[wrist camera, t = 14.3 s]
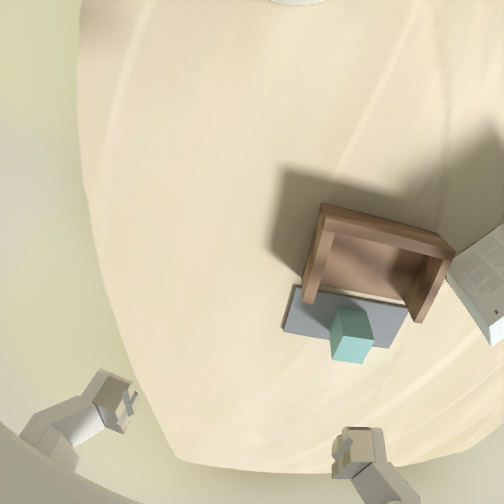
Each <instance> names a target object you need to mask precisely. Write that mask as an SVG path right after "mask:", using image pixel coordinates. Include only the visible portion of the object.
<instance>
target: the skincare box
mask: <svg viewBox="0 0 504 504" xmlns="http://www.w3.org/2000/svg"><path fill="white" fill-rule="evenodd" d="M446 277H447V280H448V283H449V285H450V287H451V288H452V289H453V291H454V292H455V293H456V295H457V296H458V298H459V299H460V300H461V302H462V303H463V305H464V306H465V307H466V309H467V310H468V312H469V313H470V315H471V316H472V318H473V319H474V321H475V322H476V324H477V325H478V327H479V328H480V330H481V331H482V333H483V335H484V336H485V338H486V339H487V341H488V343H489V344H490V346H491V347H492V346H493V345H495V344H496V343H497V342H499V341H500V340H501V339H503V338H504V222H503V223H502V224H501V225H499V226H498V227H497V228H495V229H494V230H493V231H491V232H490V233H489V234H487V235H486V236H485V237H483V238H482V239H480V240H479V241H478V242H476V243H475V244H473V245H472V246H471V247H469V248H468V249H466V250H465V251H463V252H462V253H460V254H459V255H458V256H456V257H455V258H453V260H452V262H451V265H450V267H449V269H448V272H447V274H446Z"/></svg>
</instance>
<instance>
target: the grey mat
mask: <svg viewBox="0 0 504 504" xmlns="http://www.w3.org/2000/svg"><path fill="white" fill-rule="evenodd" d="M338 307H341V308H347V309H352V310H358V311H363V312H367V315H368V318H369V322H370V325H371V329H372V332H373V336H374V340H375V341H374V343H373V344H372V346H373V347H381V348H389V347H390V345H391V343H392V342H393V340H394V338H395V336H396V334H397V333H398V331H399V329H400V327H401V325H402V323H403V321H404V319H405V318H406V316H407V314H408V312H409V311H408V309H407V307H404V306H398V305H393V304H387V303H382V302H376V301H371V300H366V299H360V298H355V297H350V296H345V295H340V294H334V293H329V292H324V291H319V290H318V291H317V294H316V297H315V300H314V303H313V305H311V304H306V303H302V287H299V286H296V289H295V292H294V296H293V299H292V303H291V306H290V309H289V313H288V316H287V320H286V323H285V326H284V329H283V332H287V333H293V334H298V335H303V336H309V337H315V338H321V339H327V340H330V335H329V329H330V327H331V324H332V322H333V319H334V317H335V314H336V312H337V309H338Z"/></svg>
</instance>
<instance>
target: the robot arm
mask: <svg viewBox="0 0 504 504" xmlns="http://www.w3.org/2000/svg"><path fill="white" fill-rule="evenodd" d="M270 1H273V2H276V3H280V4H286V5H310V4H315V3H319V2H322V1H324V0H270ZM136 387H137V386H136V382H133V381H131V380H128V379H125V378H123V377H120V376H118V375H115V374H113V373H111V372H108V371H106V370H103V369H100V370H99V371H98V372H97V373H96V375H95V376H94V378H93V379H92V380H91V382H90V383H89V385H88V387H87V388H86V389H85V391H84V392H83V394H82V395H81V397H80V396H75V397H73V398H71V399H69V400H66V401H64V402H62V403H59V404H57V405H54V406H52V407H50V408H47V409H45V410H42V411H40V412H38V413H35V414H34V415H33V416H32V418H31V419H30V420H29V422H28V423H27V425H26V426H25V428H24V429H23V431H22V432H21V434H20V435H19V436H18V435H16V434H15V433H14V432H12V431H11V430H10V429H9V428H7V427H6V426H5V425H4V424H3V423H1V422H0V504H142V503H139V502H137V501H134V500H131V499H129V498H127V497H124V496H122V495H119V494H117V493H115V492H113V491H110V490H108V489H106V488H104V487H102V486H99V485H98V484H95V483H94V482H92V481H90V480H88V479H85V478H84V477H82V476H80V475H78V474H76V473H75V472H74V471H75V469H76V467H77V465H78V463H79V461H80V458H79V456H78V454H77V453H76V452H75V450H74V449H73V447H75V446H76V445H78V444H80V443H82V442H83V441H85V440H87V439H88V438H90V437H91V436H93V435H95V434H96V433H98V432H100V431H101V430H103V429H104V428H105V427H107V428H109V429H112V430H114V431H117V432H119V433H122V434H124V433H125V431H126V429H127V427H128V425H129V423H130V421H129V416H130V415H133V414H134V413H135V411H136V409H137V405H138V402H139V396H138V393H137V392H136V391H135V389H136ZM332 457H333V458H334V459H335V462H334V463H333V464H332V479H352V480H351V481H352V483H353V485H354V486H355V488H356V490H357V491H358V493H359V494H360V496H361V498H362V500H363V501H364V502H365V504H421V503H420V496H419V495H418V494H417V493H416V492H415V490H414V489H413V488H412V487H411V486H410V485H409V483H408V482H407V481H406V480H405V479H404V478H403V476H402V475H401V474H400V473H399V472H398V471H397V469H396V468H395V467H394V466H393V465H392V463H391V462H387V457H386V449H385V443H384V436H383V430H382V429H381V428H369V427H344V429H343V430H342V434H341V435H339V436H337V437H336V439H335V440H334V443H333V445H332Z"/></svg>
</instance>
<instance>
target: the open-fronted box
mask: <svg viewBox="0 0 504 504" xmlns="http://www.w3.org/2000/svg"><path fill="white" fill-rule="evenodd" d="M455 253H456V252H455V251H454V250H453V249H452V248H451V247H450V246H449V245H448V244H447V243H446V242H445V241H444V240H443V239H442V238H441V237H440V236H439V235H438V234H436V233H433V232H429V231H426V230H423V229H419V228H416V227H412V226H409V225H405V224H402V223H398V222H395V221H391V220H387V219H384V218H380V217H376V216H372V215H368V214H364V213H360V212H357V211H353V210H348V209H344V208H340V207H336V206H332V205H328V204H323V203H322V204H321V208H320V212H319V216H318V220H317V224H316V227H315V231H314V235H313V239H312V243H311V247H310V250H309V254H308V258H307V261H306V265H305V269H304V272H303V276H302V303H306V304H311V305H313V303H314V300H315V297H316V294H317V291H318V287H319V285H324V286H329V287H334V288H339V289H344V290H349V291H354V292H359V293H365V294H370V295H375V296H380V297H386V298H391V299H396V300H401V301H404V302H405V304H406V307H407V309H408V311H409V313H410V315H411V317H412V319H413V321H414V322H415V323H422V322H423V320H424V319H425V317H426V315H427V313H428V311H429V309H430V307H431V305H432V303H433V301H434V299H435V297H436V295H437V293H438V291H439V289H440V287H441V285H442V283H443V280H444V278H445V276H446V274H447V272H448V269H449V267H450V265H451V262H452V260H453V258H454V255H455Z"/></svg>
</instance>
